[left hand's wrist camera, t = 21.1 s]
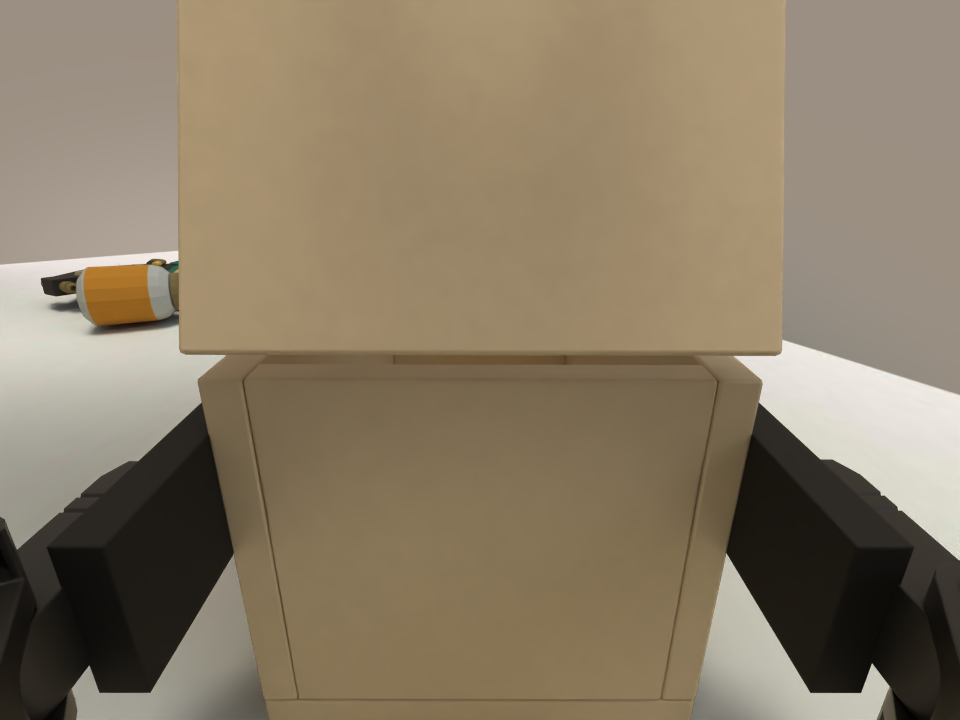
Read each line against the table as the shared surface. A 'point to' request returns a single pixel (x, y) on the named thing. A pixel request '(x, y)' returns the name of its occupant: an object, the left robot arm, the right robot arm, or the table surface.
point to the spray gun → (121, 291)
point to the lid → (481, 177)
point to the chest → (479, 529)
